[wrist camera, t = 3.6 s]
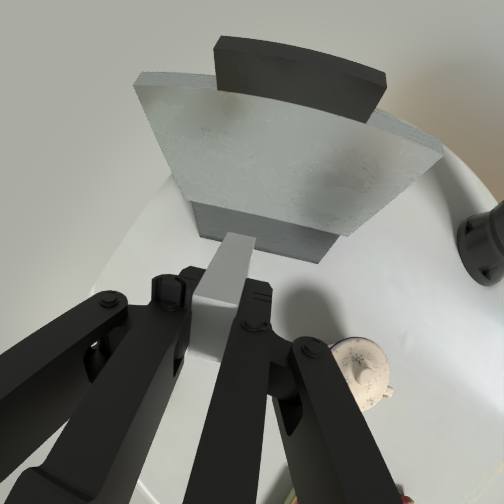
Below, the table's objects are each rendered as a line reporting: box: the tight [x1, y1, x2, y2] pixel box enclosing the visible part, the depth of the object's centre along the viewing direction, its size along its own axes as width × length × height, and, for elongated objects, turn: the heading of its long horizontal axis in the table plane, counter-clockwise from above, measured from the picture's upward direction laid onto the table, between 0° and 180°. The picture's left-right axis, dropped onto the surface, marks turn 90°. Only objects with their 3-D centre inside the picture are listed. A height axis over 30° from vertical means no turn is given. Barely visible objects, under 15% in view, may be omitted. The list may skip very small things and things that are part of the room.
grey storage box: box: [192, 201, 340, 264], centre depth 40 cm, size 24×18×12 cm
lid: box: [133, 36, 444, 237], centre depth 21 cm, size 18×21×1 cm
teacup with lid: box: [327, 337, 394, 412], centre depth 31 cm, size 12×9×12 cm
